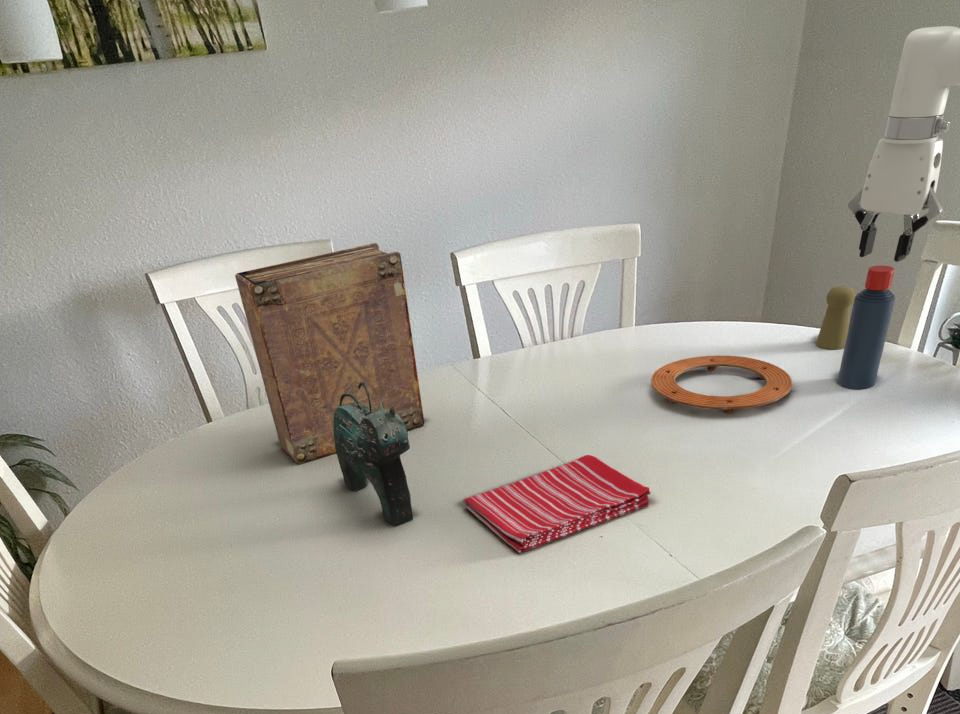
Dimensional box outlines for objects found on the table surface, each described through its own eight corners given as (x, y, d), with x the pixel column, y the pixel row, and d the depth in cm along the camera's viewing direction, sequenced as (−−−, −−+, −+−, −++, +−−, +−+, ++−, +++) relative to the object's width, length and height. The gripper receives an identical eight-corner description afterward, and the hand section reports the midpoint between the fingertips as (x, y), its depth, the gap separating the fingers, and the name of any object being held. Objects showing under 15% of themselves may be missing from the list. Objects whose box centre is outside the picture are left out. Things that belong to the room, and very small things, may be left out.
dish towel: (655, 504, 116) (656, 488, 114) (520, 556, 108) (519, 540, 106) (588, 463, 128) (588, 448, 126) (462, 507, 120) (460, 492, 118)
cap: (893, 285, 133) (898, 267, 131) (883, 291, 131) (887, 272, 130) (871, 282, 136) (875, 264, 134) (860, 288, 134) (864, 269, 132)
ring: (765, 361, 156) (767, 348, 154) (811, 411, 136) (813, 397, 135) (639, 372, 157) (639, 360, 155) (666, 424, 137) (667, 411, 135)
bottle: (881, 380, 144) (908, 268, 132) (864, 392, 141) (891, 278, 128) (847, 373, 148) (871, 264, 135) (830, 384, 144) (853, 273, 132)
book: (403, 410, 152) (378, 242, 133) (425, 425, 145) (401, 251, 126) (280, 447, 143) (234, 273, 124) (296, 465, 136) (251, 284, 118)
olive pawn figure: (814, 348, 159) (825, 291, 152) (816, 338, 163) (827, 283, 156) (846, 350, 157) (858, 292, 150) (848, 340, 161) (859, 283, 154)
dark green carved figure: (425, 521, 118) (406, 393, 105) (387, 536, 115) (363, 406, 103) (367, 475, 131) (344, 356, 119) (332, 488, 129) (305, 368, 116)
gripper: (981, 127, 116) (944, 258, 127) (868, 124, 126) (844, 246, 138) (961, 134, 112) (924, 269, 124) (846, 131, 122) (822, 256, 134)
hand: (882, 256), depth 130 cm, fingers open, 5 cm apart
